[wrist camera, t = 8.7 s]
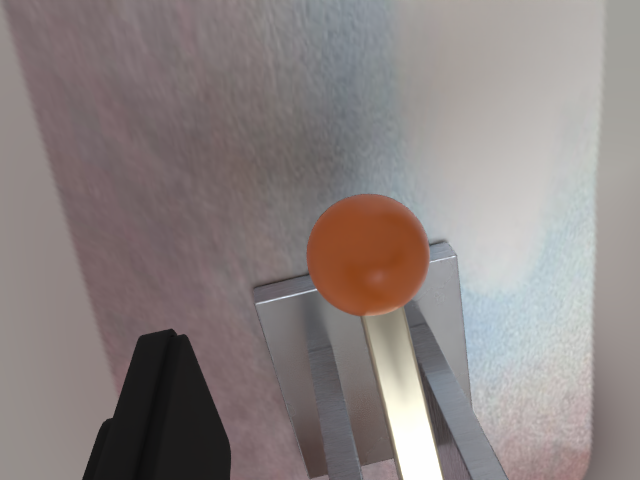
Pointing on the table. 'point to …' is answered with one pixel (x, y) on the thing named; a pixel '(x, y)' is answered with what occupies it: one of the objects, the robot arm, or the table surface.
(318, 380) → the bracket
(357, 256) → the lever
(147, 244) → the table surface
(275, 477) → the table surface
